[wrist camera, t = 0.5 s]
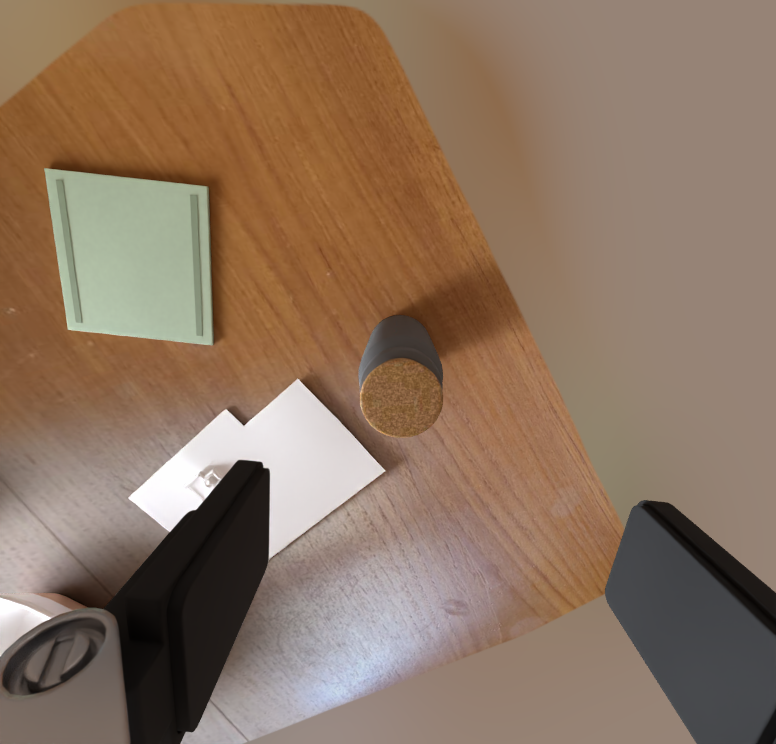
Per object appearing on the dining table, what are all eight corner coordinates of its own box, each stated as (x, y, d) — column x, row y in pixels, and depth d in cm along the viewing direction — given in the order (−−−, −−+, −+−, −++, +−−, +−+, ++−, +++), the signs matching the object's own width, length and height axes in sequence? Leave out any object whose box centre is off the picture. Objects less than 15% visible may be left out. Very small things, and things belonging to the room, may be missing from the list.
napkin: (47, 169, 31) (43, 167, 31) (209, 187, 31) (206, 186, 31) (70, 329, 35) (67, 329, 35) (213, 344, 35) (212, 345, 35)
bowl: (-46, 632, 47) (-99, 676, 42) (39, 538, 42) (-10, 575, 37) (95, 717, 51) (61, 767, 46) (186, 641, 46) (160, 686, 41)
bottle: (377, 307, 34) (361, 338, 19) (437, 322, 34) (467, 364, 20) (363, 366, 35) (339, 434, 21) (421, 380, 36) (437, 457, 21)
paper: (242, 590, 43) (238, 597, 42) (124, 501, 40) (117, 507, 39) (391, 464, 38) (390, 469, 37) (268, 350, 35) (264, 352, 34)
